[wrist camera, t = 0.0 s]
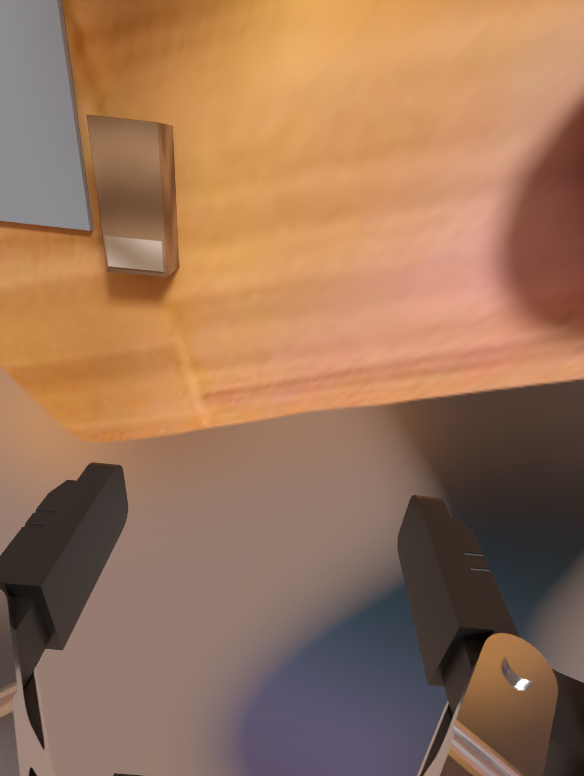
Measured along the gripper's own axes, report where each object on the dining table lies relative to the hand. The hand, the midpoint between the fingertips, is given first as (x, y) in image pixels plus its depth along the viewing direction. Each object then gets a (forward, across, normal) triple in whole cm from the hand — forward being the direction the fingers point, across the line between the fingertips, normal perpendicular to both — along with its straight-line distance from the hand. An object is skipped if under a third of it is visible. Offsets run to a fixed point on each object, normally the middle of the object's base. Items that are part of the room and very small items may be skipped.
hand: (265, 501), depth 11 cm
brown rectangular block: (+30, +13, -4) cm, 33 cm away
